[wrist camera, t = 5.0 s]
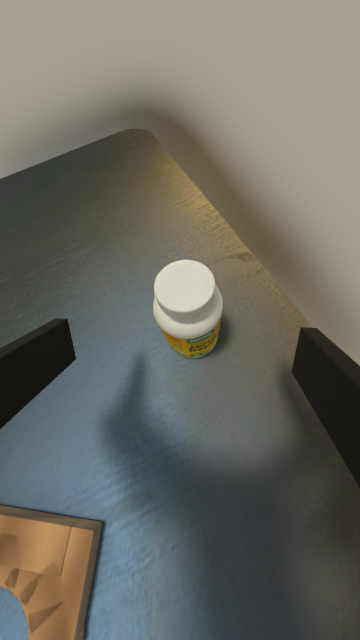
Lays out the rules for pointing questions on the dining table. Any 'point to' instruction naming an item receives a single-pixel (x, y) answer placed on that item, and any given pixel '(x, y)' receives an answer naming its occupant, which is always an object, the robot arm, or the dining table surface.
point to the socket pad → (49, 569)
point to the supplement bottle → (188, 307)
